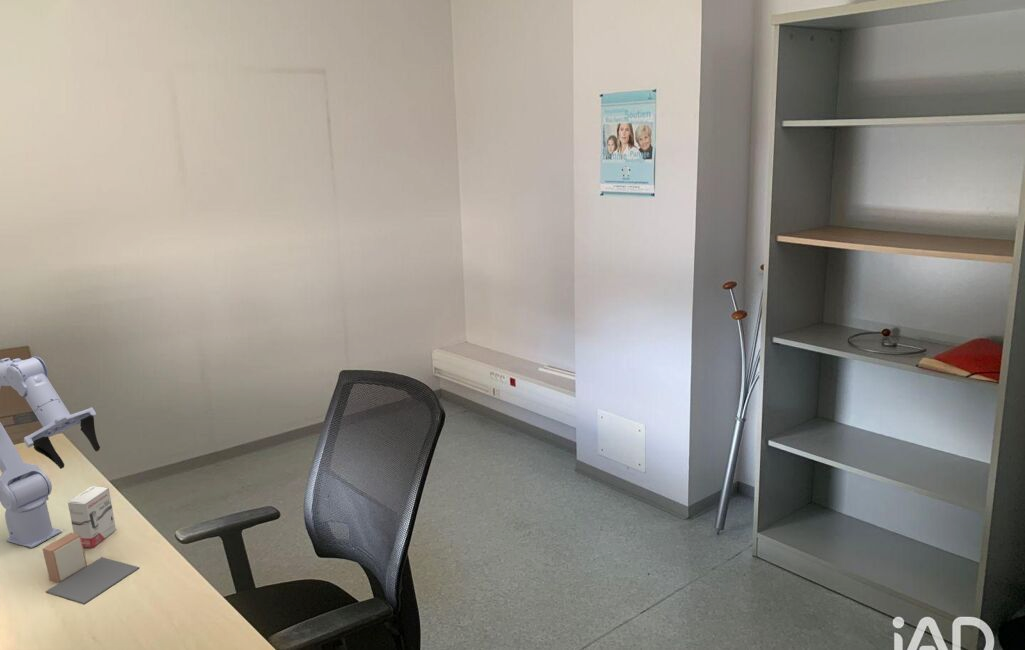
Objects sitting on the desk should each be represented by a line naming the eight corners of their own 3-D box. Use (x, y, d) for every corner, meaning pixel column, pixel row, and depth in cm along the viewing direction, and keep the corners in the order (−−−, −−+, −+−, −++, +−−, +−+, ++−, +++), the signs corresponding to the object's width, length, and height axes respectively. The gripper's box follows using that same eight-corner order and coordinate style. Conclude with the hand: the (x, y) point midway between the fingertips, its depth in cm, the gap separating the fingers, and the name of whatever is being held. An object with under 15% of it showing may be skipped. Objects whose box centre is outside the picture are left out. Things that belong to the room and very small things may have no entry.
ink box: (93, 548, 186) (84, 503, 182) (75, 547, 187) (65, 502, 183) (118, 529, 194) (109, 485, 191) (100, 528, 195) (91, 484, 192)
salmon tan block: (50, 580, 174) (42, 548, 171) (78, 563, 180) (71, 532, 178) (59, 583, 172) (52, 551, 170) (87, 566, 178) (80, 535, 176)
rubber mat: (45, 592, 169) (45, 591, 169) (102, 558, 181) (101, 557, 181) (84, 604, 164) (84, 603, 164) (139, 568, 177) (139, 567, 176)
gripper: (13, 415, 165) (47, 469, 164) (83, 385, 175) (115, 436, 173) (12, 427, 170) (45, 479, 169) (80, 397, 180) (111, 446, 179)
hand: (80, 458), depth 172 cm, fingers open, 7 cm apart
